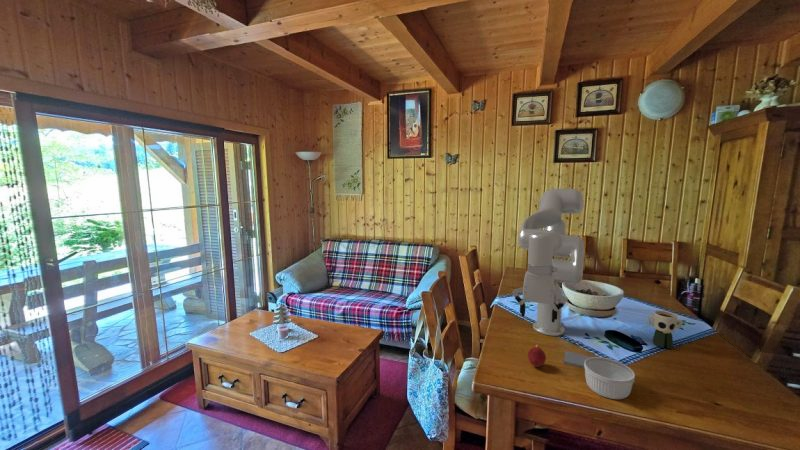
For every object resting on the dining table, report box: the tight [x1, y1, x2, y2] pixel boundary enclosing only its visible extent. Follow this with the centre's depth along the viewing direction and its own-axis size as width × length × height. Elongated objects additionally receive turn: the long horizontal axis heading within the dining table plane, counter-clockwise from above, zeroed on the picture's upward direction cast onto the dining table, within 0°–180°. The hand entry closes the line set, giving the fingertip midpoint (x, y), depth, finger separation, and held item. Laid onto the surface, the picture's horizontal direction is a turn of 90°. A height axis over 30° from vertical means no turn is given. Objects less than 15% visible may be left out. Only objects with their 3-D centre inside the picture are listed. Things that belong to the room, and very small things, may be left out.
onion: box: [527, 344, 547, 368], centre depth 113 cm, size 6×6×8 cm
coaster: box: [563, 350, 591, 369], centre depth 117 cm, size 8×8×1 cm
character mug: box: [646, 309, 683, 349], centre depth 125 cm, size 11×7×13 cm, turn 67°
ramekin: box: [583, 356, 636, 400], centre depth 100 cm, size 13×13×7 cm
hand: (538, 318), depth 111 cm, fingers open, 9 cm apart
